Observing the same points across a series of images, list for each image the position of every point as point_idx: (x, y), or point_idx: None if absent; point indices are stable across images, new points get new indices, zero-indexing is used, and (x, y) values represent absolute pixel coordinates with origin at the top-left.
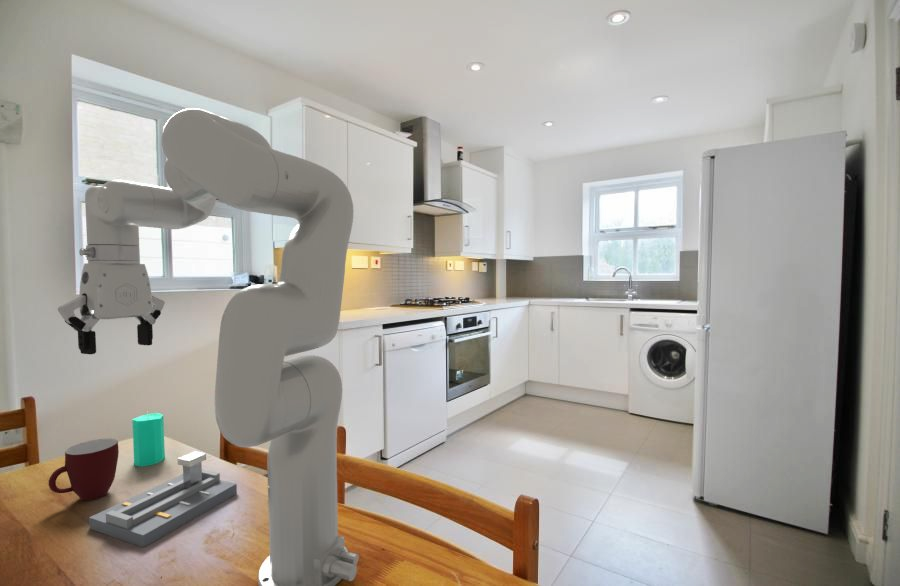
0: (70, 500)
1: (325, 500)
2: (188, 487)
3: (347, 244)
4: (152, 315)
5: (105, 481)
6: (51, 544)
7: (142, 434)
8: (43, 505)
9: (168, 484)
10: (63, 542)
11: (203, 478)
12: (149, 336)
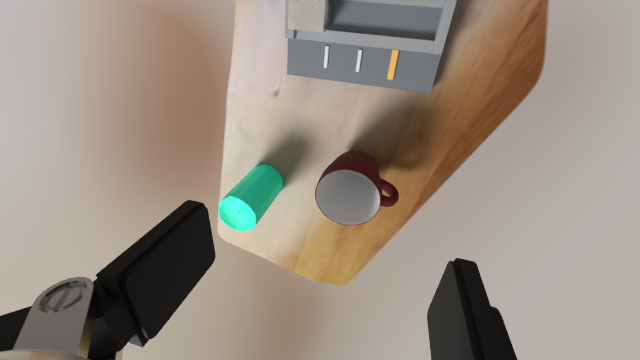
0: None
1: None
2: (331, 11)
3: None
4: (10, 345)
5: (356, 152)
6: (467, 103)
7: (261, 197)
8: None
9: (327, 65)
10: (462, 92)
11: None
12: (171, 225)
